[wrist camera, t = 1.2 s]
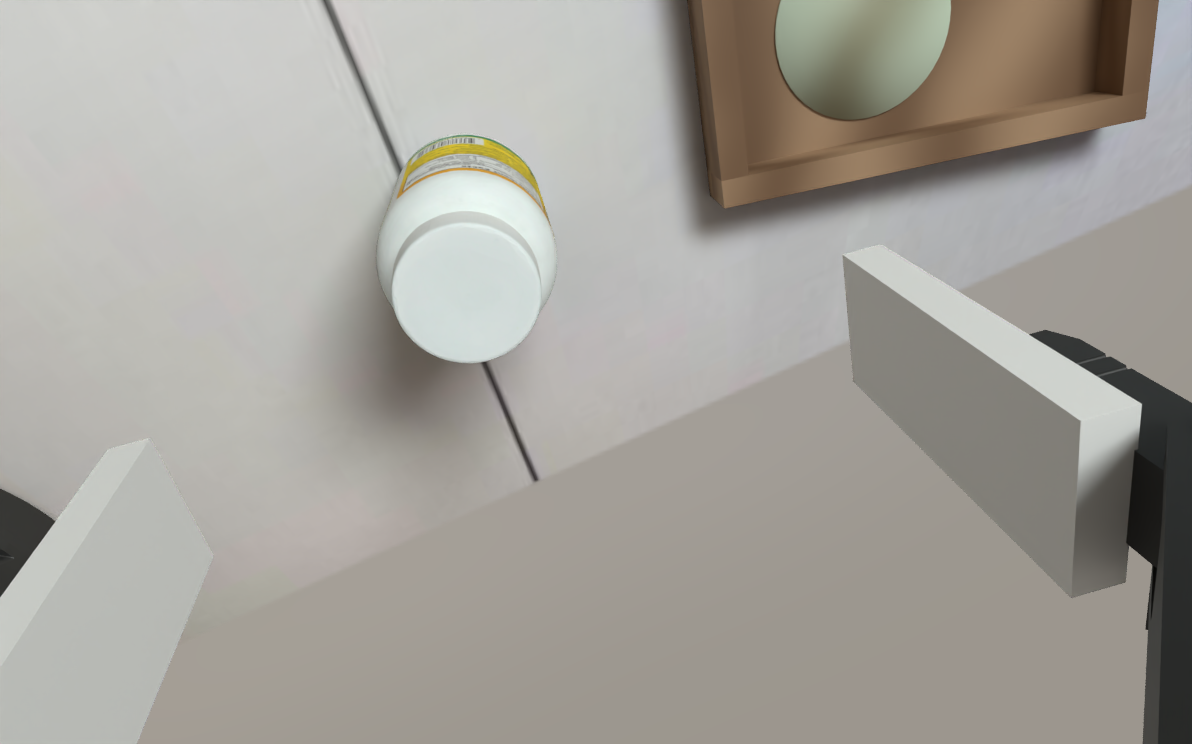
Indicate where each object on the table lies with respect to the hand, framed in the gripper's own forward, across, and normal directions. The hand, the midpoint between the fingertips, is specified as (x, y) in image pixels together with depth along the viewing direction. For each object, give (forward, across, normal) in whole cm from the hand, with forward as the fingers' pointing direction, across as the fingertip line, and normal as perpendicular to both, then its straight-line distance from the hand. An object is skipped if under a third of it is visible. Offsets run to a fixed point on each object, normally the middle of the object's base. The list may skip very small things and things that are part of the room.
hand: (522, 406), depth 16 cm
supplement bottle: (+17, -1, 0) cm, 17 cm away
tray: (+16, +16, +3) cm, 23 cm away
